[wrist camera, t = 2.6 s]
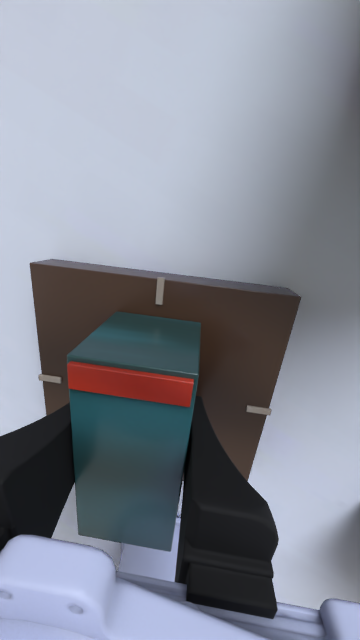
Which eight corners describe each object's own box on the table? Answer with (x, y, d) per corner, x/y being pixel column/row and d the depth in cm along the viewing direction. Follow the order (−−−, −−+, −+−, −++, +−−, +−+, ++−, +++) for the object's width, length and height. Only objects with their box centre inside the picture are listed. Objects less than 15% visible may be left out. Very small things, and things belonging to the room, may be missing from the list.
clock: (241, 466, 18) (246, 494, 16) (64, 437, 19) (48, 461, 17) (290, 286, 14) (305, 295, 12) (50, 257, 14) (24, 260, 12)
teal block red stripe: (180, 460, 16) (170, 559, 11) (114, 448, 16) (75, 541, 11) (201, 322, 13) (198, 378, 8) (116, 310, 13) (62, 358, 8)
